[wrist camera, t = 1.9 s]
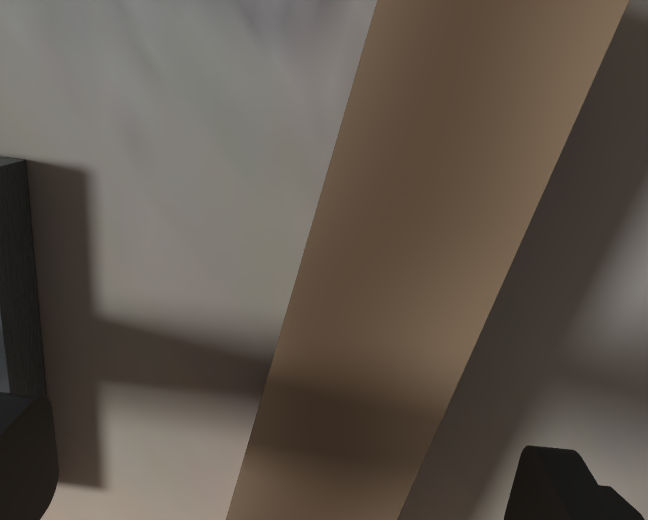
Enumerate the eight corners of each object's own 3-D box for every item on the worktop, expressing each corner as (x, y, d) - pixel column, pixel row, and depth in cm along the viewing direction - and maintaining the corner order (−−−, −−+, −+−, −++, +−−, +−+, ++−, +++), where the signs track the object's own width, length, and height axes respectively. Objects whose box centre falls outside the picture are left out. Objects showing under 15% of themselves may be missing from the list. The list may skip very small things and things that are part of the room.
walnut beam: (544, 11, 11) (638, -21, 7) (286, 659, 19) (268, 806, 15) (389, -39, 11) (405, -96, 7) (192, 634, 19) (150, 777, 15)
